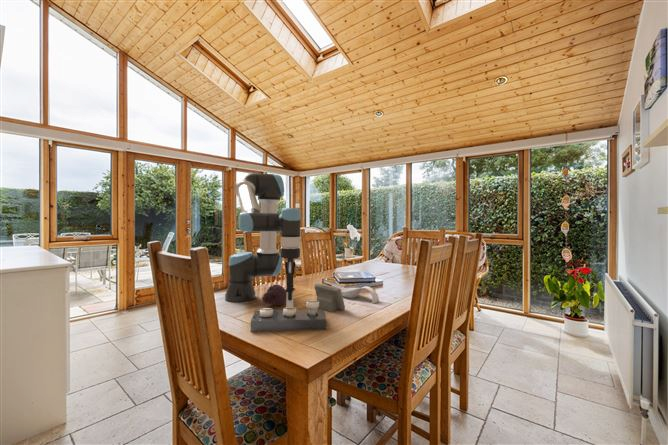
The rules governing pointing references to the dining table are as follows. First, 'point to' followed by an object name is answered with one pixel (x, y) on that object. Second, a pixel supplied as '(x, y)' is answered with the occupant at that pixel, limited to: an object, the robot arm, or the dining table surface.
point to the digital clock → (329, 297)
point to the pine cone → (275, 295)
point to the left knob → (266, 312)
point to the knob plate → (289, 321)
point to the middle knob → (289, 312)
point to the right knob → (312, 307)
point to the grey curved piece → (356, 291)
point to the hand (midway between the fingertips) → (289, 307)
